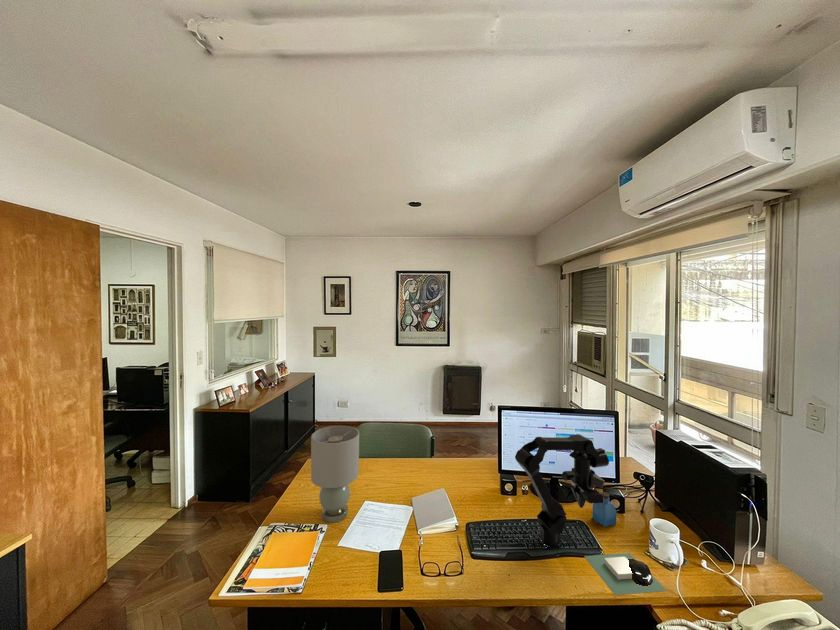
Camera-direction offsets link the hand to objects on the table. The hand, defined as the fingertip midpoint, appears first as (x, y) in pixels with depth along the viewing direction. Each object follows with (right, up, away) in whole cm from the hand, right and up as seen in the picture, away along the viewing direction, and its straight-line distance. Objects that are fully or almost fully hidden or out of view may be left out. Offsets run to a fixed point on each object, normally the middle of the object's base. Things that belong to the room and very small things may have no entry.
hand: (581, 507), depth 127 cm
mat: (+6, -12, -17) cm, 22 cm away
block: (+5, -11, -13) cm, 18 cm away
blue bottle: (+15, -12, +10) cm, 22 cm away
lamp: (-101, -10, +12) cm, 102 cm away
